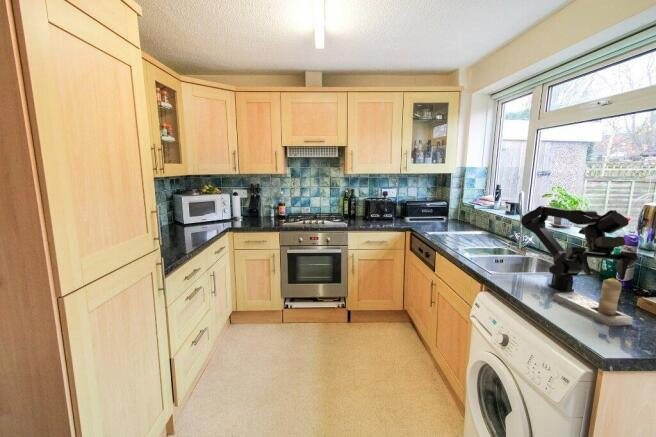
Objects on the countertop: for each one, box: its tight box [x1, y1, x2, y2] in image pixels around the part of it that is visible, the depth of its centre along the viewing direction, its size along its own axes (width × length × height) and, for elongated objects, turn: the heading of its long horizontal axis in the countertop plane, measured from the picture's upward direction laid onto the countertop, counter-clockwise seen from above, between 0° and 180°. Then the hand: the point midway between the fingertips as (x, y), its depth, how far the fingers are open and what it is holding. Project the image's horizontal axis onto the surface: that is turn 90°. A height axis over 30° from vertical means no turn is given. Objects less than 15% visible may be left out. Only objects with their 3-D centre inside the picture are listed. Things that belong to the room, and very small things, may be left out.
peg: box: [597, 279, 623, 317], centre depth 99 cm, size 4×4×13 cm
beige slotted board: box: [552, 291, 634, 327], centre depth 105 cm, size 20×9×2 cm, turn 10°
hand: (605, 277), depth 101 cm, fingers open, 9 cm apart
